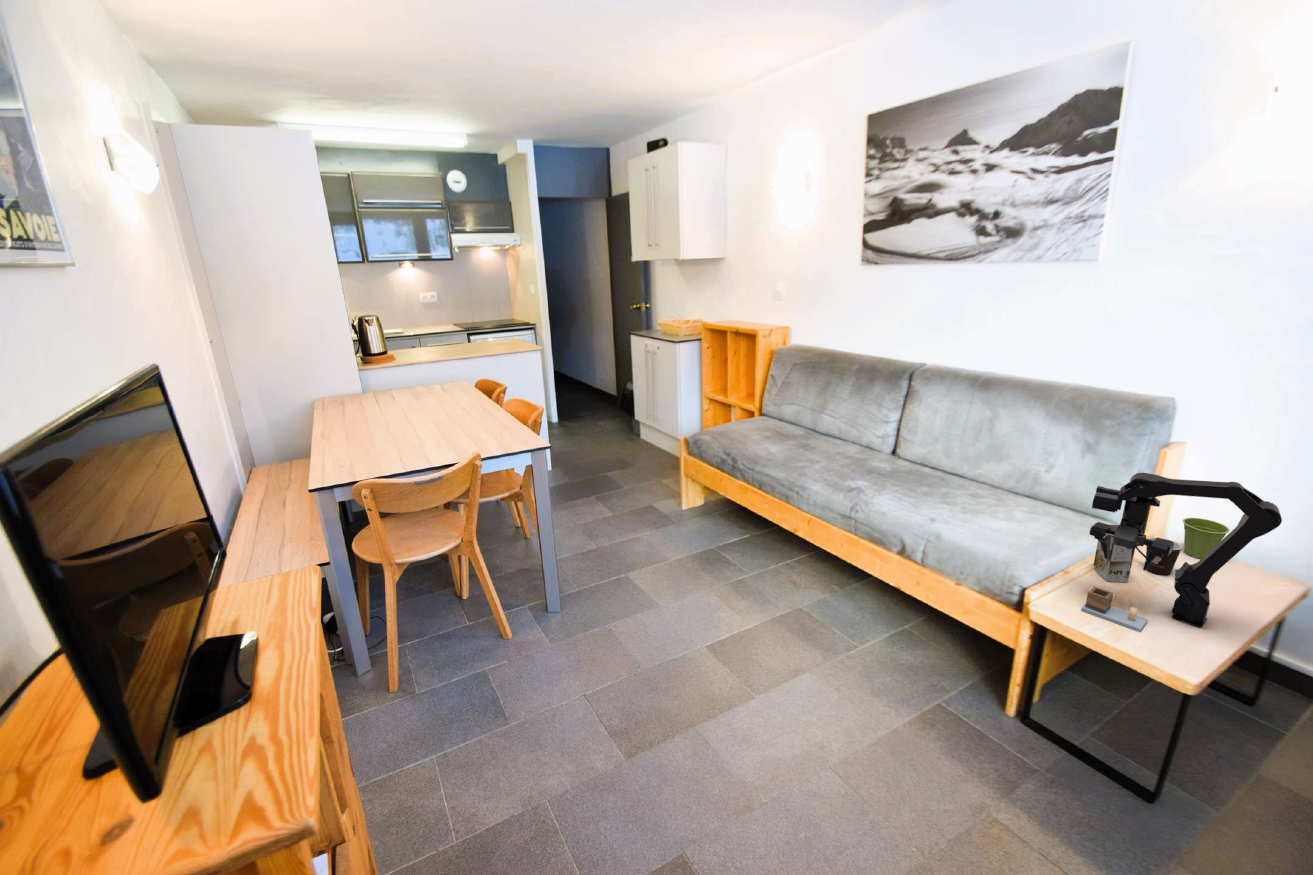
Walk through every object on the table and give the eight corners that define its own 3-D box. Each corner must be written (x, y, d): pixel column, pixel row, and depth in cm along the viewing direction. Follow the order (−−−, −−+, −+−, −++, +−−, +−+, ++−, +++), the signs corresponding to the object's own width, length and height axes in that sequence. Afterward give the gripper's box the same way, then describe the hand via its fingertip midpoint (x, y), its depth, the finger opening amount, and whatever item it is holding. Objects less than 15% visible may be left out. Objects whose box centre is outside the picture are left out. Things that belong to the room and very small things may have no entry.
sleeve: (1091, 601, 175) (1093, 586, 173) (1110, 607, 171) (1113, 592, 170) (1085, 606, 172) (1088, 592, 170) (1104, 614, 168) (1107, 598, 167)
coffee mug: (1182, 577, 187) (1189, 549, 184) (1155, 578, 187) (1161, 550, 184) (1153, 559, 198) (1159, 533, 195) (1127, 560, 198) (1133, 533, 195)
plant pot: (1190, 562, 196) (1198, 531, 192) (1167, 546, 207) (1174, 516, 203) (1231, 564, 194) (1239, 533, 190) (1205, 547, 205) (1212, 518, 201)
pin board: (1147, 622, 165) (1150, 608, 164) (1140, 632, 161) (1143, 618, 160) (1089, 601, 176) (1091, 588, 175) (1081, 610, 172) (1083, 597, 171)
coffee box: (1129, 583, 185) (1139, 537, 180) (1106, 581, 186) (1115, 535, 182) (1113, 568, 194) (1122, 524, 189) (1091, 567, 195) (1100, 523, 190)
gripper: (1087, 514, 171) (1078, 561, 176) (1169, 535, 157) (1157, 586, 161) (1100, 503, 178) (1091, 549, 182) (1179, 523, 163) (1168, 572, 168)
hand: (1124, 564), depth 173 cm, fingers open, 9 cm apart
